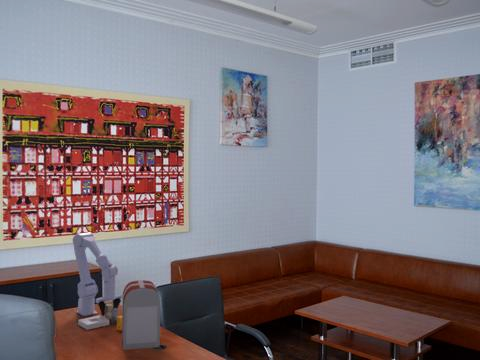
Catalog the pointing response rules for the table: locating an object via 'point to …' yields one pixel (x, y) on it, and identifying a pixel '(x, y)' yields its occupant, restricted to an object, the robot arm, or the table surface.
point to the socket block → (93, 322)
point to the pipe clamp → (119, 323)
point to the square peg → (108, 311)
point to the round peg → (114, 315)
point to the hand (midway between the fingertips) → (109, 314)
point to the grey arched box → (140, 315)
